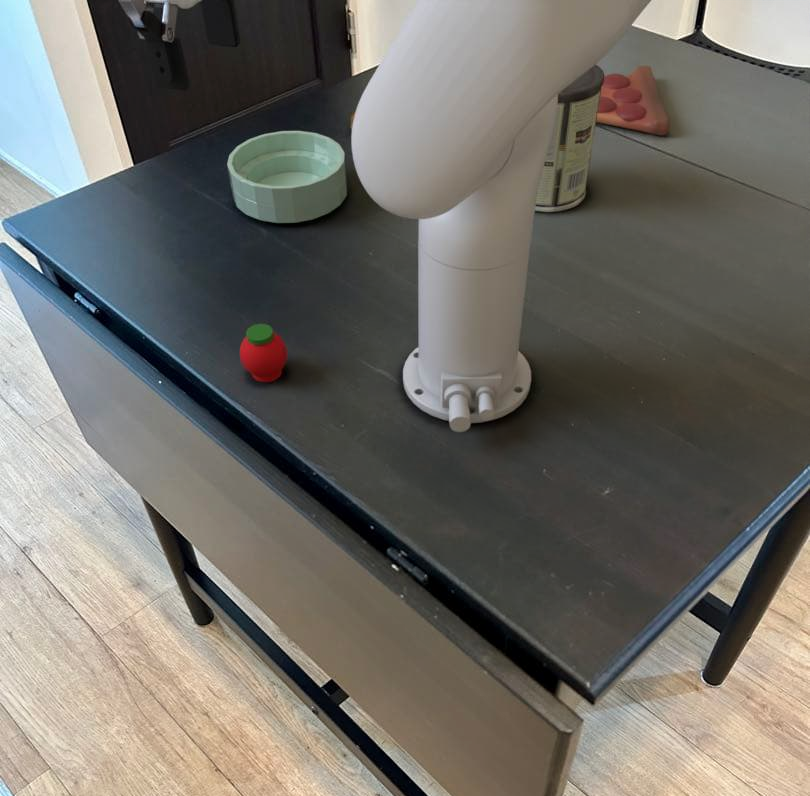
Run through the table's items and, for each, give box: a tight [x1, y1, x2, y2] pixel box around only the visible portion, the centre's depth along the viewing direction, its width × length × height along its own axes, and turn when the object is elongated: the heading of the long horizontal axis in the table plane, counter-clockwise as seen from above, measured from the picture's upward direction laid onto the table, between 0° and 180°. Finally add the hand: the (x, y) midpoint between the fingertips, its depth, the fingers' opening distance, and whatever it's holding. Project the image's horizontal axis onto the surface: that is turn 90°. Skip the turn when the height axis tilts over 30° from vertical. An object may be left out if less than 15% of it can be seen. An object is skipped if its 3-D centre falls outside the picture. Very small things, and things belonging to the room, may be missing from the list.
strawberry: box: [239, 323, 288, 383], centre depth 82 cm, size 5×5×5 cm
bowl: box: [226, 130, 348, 224], centre depth 103 cm, size 14×14×5 cm
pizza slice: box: [596, 65, 670, 137], centre depth 118 cm, size 18×2×20 cm
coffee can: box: [535, 63, 605, 213], centre depth 99 cm, size 10×10×14 cm
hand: (199, 65), depth 76 cm, fingers open, 9 cm apart
